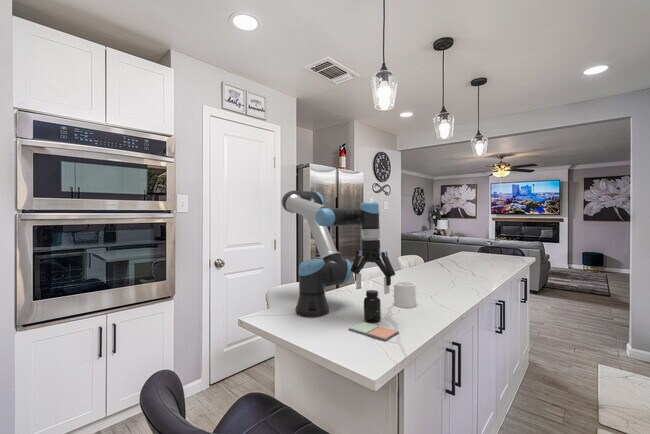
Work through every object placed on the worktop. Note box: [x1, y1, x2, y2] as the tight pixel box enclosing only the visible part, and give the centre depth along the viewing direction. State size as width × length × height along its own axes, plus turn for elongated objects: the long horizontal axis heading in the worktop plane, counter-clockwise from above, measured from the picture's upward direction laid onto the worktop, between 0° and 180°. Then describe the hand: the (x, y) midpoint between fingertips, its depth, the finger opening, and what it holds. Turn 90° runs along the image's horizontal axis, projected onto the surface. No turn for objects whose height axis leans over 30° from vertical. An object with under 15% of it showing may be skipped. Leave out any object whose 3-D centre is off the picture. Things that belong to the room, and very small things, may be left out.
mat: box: [347, 321, 400, 342], centre depth 108 cm, size 16×10×1 cm, turn 47°
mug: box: [393, 281, 417, 309], centre depth 142 cm, size 13×10×10 cm
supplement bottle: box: [363, 289, 382, 324], centre depth 120 cm, size 7×7×12 cm
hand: (372, 291), depth 120 cm, fingers open, 13 cm apart
